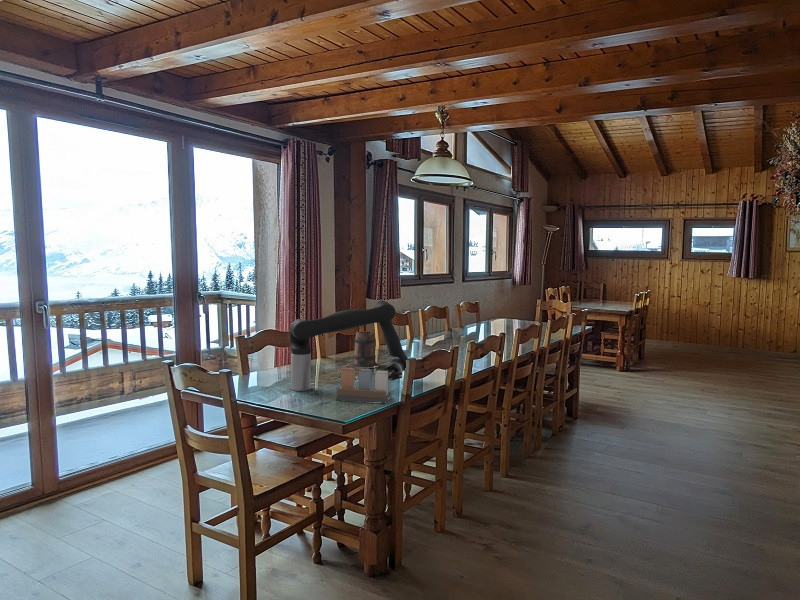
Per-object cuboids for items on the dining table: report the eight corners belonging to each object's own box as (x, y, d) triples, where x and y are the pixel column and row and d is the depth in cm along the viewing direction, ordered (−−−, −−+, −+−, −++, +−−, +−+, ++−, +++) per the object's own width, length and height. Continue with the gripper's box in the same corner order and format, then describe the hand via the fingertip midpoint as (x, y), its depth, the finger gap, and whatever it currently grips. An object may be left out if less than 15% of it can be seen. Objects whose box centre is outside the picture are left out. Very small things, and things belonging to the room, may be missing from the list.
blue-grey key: (360, 391, 248) (361, 368, 248) (371, 392, 247) (371, 369, 247) (358, 393, 244) (358, 370, 244) (369, 394, 243) (369, 370, 243)
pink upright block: (343, 390, 250) (344, 367, 249) (354, 390, 249) (354, 368, 248) (341, 392, 246) (341, 369, 245) (351, 392, 245) (352, 369, 244)
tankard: (352, 362, 327) (352, 329, 326) (380, 363, 326) (380, 330, 325) (346, 370, 304) (347, 335, 302) (376, 371, 303) (377, 336, 301)
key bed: (343, 393, 252) (344, 383, 252) (390, 397, 248) (390, 386, 248) (336, 400, 240) (336, 389, 240) (384, 404, 236) (385, 392, 236)
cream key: (376, 393, 245) (377, 370, 244) (387, 394, 244) (388, 371, 243) (374, 395, 241) (375, 372, 240) (385, 396, 240) (386, 372, 239)
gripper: (380, 362, 268) (371, 369, 251) (406, 364, 265) (399, 371, 248) (380, 377, 268) (371, 385, 251) (406, 379, 266) (399, 387, 249)
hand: (385, 378), depth 250 cm, fingers closed
